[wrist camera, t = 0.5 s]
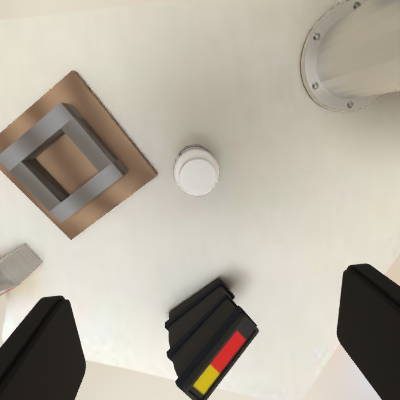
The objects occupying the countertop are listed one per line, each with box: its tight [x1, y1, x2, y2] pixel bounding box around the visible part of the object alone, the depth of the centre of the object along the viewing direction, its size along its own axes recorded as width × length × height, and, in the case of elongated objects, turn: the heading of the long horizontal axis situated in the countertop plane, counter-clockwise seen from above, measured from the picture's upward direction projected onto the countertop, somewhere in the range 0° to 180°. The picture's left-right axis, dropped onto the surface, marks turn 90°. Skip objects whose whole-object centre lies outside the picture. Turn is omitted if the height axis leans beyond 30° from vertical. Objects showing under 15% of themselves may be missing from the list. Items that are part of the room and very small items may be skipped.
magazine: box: [165, 278, 259, 400], centre depth 37 cm, size 4×13×15 cm, turn 127°
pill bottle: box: [173, 145, 219, 196], centre depth 30 cm, size 5×5×10 cm
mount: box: [0, 70, 158, 240], centre depth 32 cm, size 16×16×4 cm
